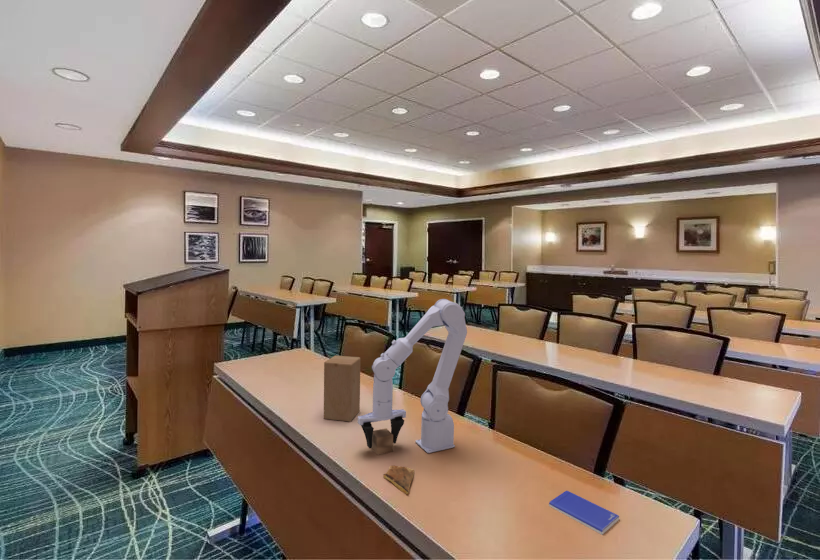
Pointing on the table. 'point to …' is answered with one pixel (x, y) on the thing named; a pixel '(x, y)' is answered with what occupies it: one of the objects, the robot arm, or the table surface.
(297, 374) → the table surface
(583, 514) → the hard drive
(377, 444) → the walnut cube
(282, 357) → the table surface
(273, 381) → the table surface
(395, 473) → the shard
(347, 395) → the wooden block
